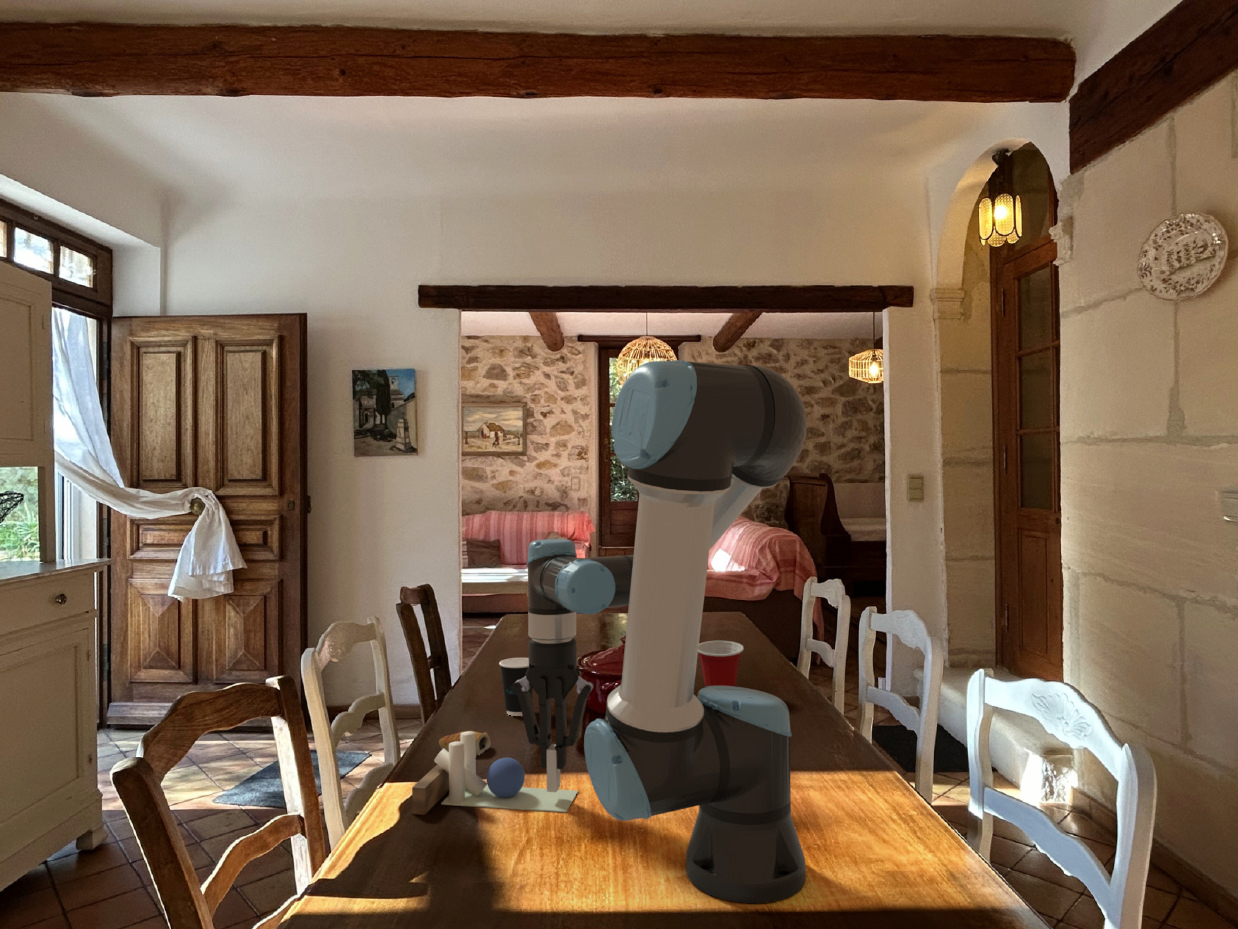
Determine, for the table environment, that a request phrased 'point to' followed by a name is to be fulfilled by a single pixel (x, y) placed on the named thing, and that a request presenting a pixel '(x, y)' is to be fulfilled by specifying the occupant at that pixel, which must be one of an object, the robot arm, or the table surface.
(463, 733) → the pin rear left
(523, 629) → the table surface
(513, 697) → the dixie cup
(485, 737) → the pastry
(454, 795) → the pin rear right
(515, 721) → the table surface
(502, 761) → the ball
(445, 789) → the wall
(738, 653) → the plastic cup
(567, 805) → the strip
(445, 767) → the pin front
